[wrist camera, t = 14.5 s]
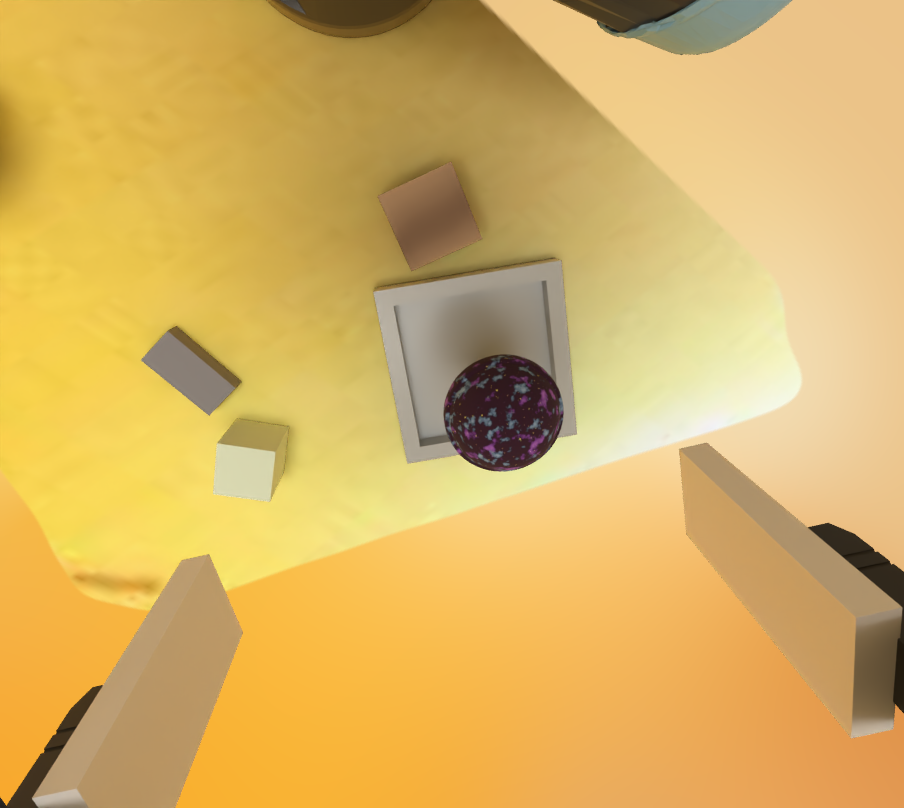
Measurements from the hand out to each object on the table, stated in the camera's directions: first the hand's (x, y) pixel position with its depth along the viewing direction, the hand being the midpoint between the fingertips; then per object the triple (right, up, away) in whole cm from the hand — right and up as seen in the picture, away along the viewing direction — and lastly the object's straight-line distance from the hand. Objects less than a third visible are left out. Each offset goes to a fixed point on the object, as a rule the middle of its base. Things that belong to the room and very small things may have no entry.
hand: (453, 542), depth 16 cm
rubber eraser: (-19, +7, +28) cm, 34 cm away
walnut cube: (-2, +17, +25) cm, 31 cm away
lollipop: (+2, +7, +28) cm, 29 cm away
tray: (+2, +7, +29) cm, 30 cm away
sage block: (-15, 0, +30) cm, 34 cm away
